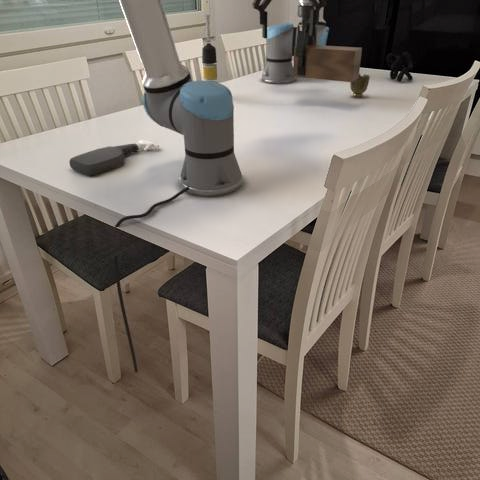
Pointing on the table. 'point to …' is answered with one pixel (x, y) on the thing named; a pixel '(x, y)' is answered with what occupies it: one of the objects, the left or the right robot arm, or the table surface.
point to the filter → (209, 57)
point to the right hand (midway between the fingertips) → (305, 73)
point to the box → (330, 63)
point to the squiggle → (399, 66)
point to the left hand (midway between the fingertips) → (288, 36)
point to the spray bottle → (106, 157)
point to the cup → (360, 85)
